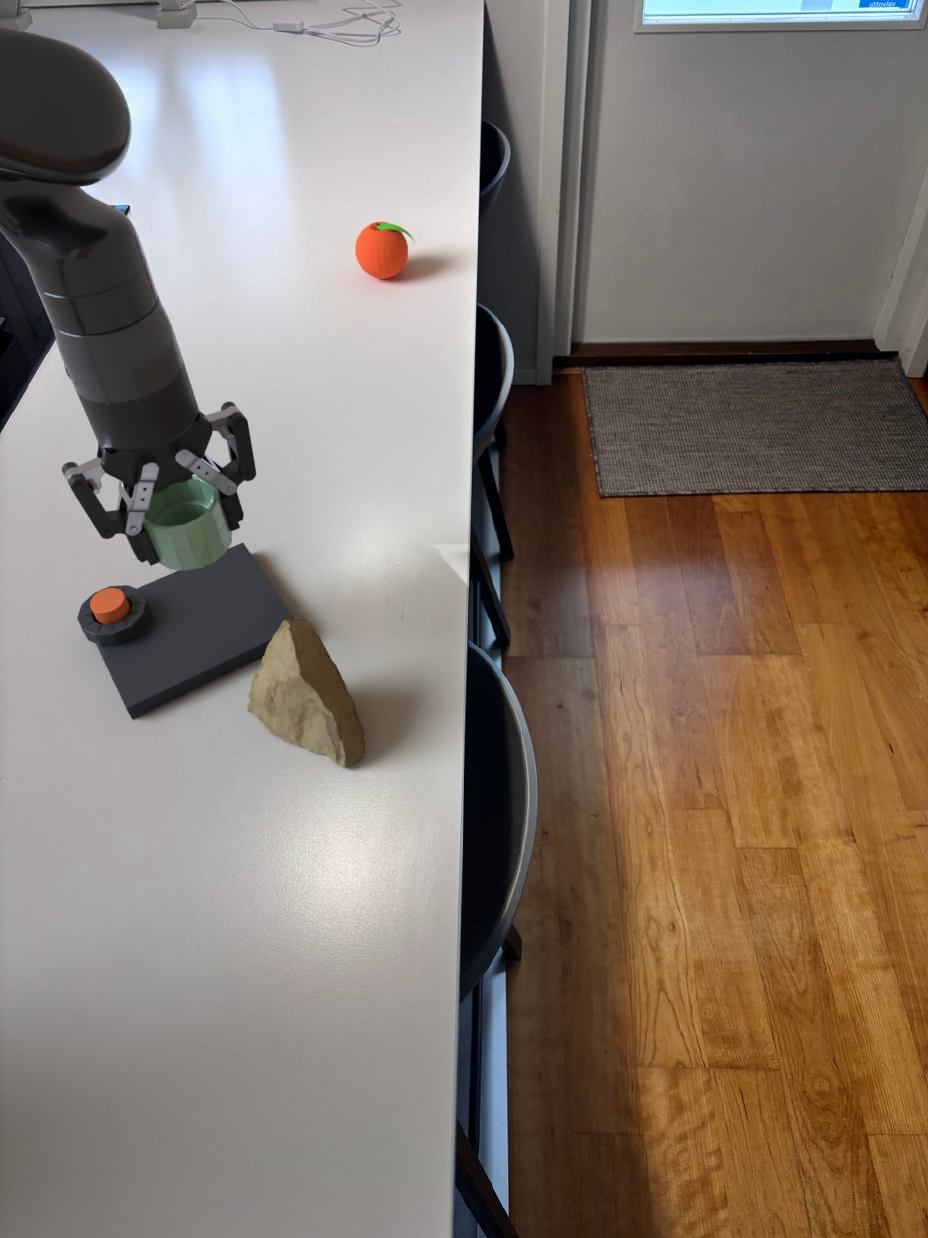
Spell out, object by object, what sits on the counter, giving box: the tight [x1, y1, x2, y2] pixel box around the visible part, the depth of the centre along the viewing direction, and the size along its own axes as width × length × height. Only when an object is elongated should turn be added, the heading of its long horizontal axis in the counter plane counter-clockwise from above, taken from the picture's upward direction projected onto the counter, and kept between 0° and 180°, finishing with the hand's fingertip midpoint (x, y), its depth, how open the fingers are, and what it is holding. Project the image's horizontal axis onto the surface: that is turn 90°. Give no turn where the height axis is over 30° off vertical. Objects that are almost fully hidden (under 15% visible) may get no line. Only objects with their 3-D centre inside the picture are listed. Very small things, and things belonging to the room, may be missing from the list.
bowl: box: [142, 475, 233, 571], centre depth 76 cm, size 6×6×5 cm
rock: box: [246, 617, 367, 769], centre depth 76 cm, size 11×9×10 cm
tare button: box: [90, 588, 130, 624], centre depth 84 cm, size 3×3×2 cm
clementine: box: [354, 221, 416, 280], centre depth 124 cm, size 8×7×7 cm
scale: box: [76, 542, 295, 720], centre depth 85 cm, size 16×13×3 cm
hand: (192, 540), depth 78 cm, fingers closed on bowl, 6 cm apart
